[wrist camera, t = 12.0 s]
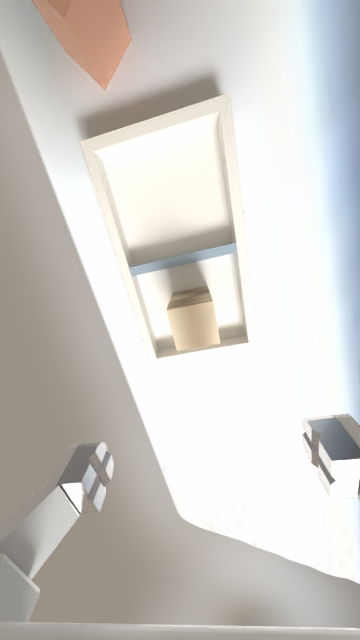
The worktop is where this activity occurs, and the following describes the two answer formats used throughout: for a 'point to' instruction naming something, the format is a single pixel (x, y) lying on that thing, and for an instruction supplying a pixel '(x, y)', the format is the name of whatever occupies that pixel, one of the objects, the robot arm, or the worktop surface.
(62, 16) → the terracotta block
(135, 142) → the divided tray
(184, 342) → the block
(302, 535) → the worktop surface
